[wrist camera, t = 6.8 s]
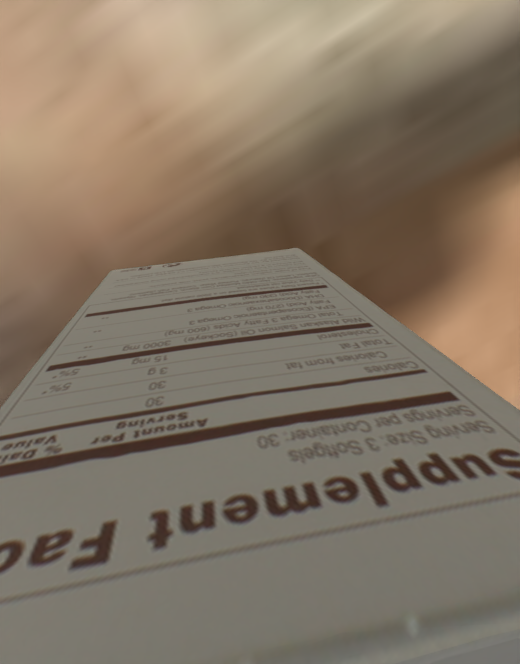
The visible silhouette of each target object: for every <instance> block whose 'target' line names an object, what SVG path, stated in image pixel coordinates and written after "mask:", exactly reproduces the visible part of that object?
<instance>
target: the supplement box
mask: <svg viewBox="0 0 520 664" xmlns="http://www.w3.org/2000/svg"><path fill="white" fill-rule="evenodd" d="M0 664H520V410H518V409H517V408H516V407H514V406H513V405H512V404H510V403H509V402H507V401H506V400H505V399H503V398H502V397H500V396H499V395H498V394H496V393H495V392H493V391H492V390H491V389H489V388H488V387H487V386H485V385H484V384H483V383H481V382H480V381H479V380H477V379H476V378H475V377H473V376H472V375H471V374H469V373H468V372H467V371H465V370H464V369H463V368H461V367H460V366H459V365H457V364H456V363H455V362H453V361H452V360H451V359H449V358H448V357H447V356H445V355H444V354H443V353H441V352H440V351H439V350H437V349H436V348H434V347H433V346H432V345H430V344H429V343H427V342H426V341H425V340H423V339H422V338H421V337H419V336H418V335H417V334H415V333H414V332H413V331H411V330H410V329H409V328H407V327H406V326H405V325H403V324H402V323H400V322H399V321H397V320H396V319H395V318H393V317H392V316H390V315H389V314H388V313H386V312H385V311H384V310H382V309H381V308H380V307H378V306H377V305H376V304H374V303H373V302H372V301H370V300H369V299H368V298H366V297H365V296H364V295H362V294H361V293H359V292H358V291H357V290H355V289H354V288H352V287H351V286H350V285H348V284H347V283H346V282H344V281H343V280H342V279H341V278H339V277H338V276H337V275H335V274H334V273H332V272H331V271H329V270H328V269H327V268H325V267H324V266H323V265H322V264H320V263H319V262H318V261H316V260H315V259H313V258H312V257H311V256H309V255H308V254H306V253H305V252H304V251H302V250H301V249H299V248H291V249H285V250H277V251H270V252H262V253H253V254H244V255H237V256H228V257H220V258H211V259H203V260H194V261H186V262H176V263H167V264H160V265H151V266H145V267H135V268H126V269H118V270H112V271H110V272H109V273H108V275H107V276H106V277H105V278H104V280H103V281H102V282H101V283H100V285H99V286H98V287H97V288H96V289H95V291H94V292H93V293H92V294H91V295H90V297H89V298H88V299H87V300H86V301H85V303H84V304H83V305H82V307H81V308H80V309H79V310H78V311H77V313H76V314H75V316H74V317H73V318H72V319H71V320H70V321H69V322H68V324H67V325H66V326H65V327H64V329H63V330H62V331H61V332H60V334H59V335H58V336H57V337H56V339H55V340H54V341H53V343H52V344H51V345H50V346H49V348H48V349H47V350H46V351H45V352H44V354H43V355H42V356H41V358H40V359H39V360H38V361H37V363H36V364H35V365H34V366H33V368H32V369H31V370H30V371H29V372H28V373H27V375H26V376H25V377H24V379H23V380H22V381H21V383H20V384H19V385H18V387H17V388H16V389H15V390H14V391H13V392H12V394H11V395H10V397H9V398H8V399H7V400H6V402H5V403H4V404H3V405H2V407H1V408H0Z"/></svg>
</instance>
